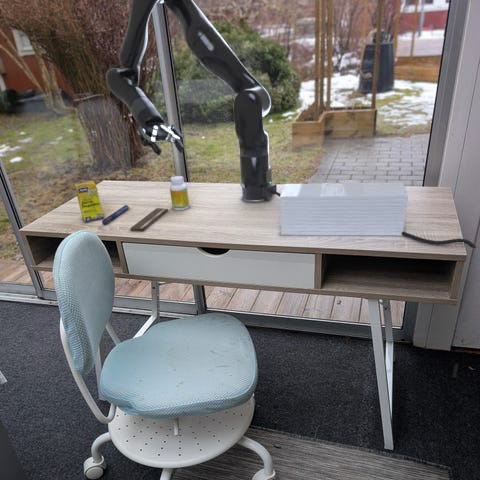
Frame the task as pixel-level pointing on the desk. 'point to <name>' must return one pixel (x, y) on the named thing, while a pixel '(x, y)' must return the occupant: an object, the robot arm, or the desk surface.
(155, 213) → the dark brown flat bar
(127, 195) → the desk surface
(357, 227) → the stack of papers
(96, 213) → the supplement box
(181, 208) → the supplement bottle
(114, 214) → the pen
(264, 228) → the desk surface
